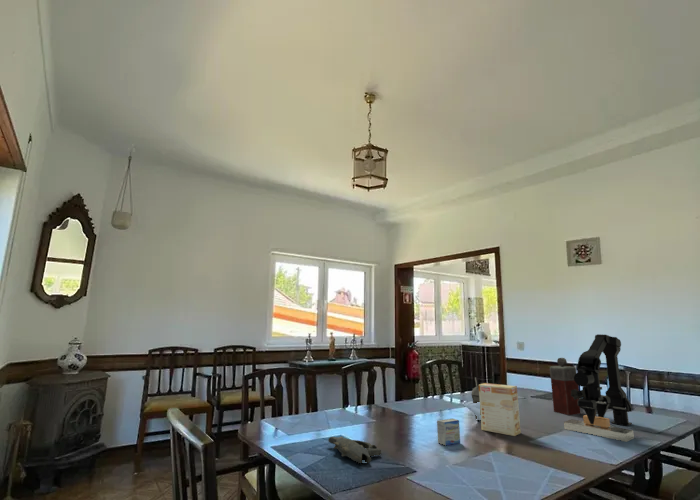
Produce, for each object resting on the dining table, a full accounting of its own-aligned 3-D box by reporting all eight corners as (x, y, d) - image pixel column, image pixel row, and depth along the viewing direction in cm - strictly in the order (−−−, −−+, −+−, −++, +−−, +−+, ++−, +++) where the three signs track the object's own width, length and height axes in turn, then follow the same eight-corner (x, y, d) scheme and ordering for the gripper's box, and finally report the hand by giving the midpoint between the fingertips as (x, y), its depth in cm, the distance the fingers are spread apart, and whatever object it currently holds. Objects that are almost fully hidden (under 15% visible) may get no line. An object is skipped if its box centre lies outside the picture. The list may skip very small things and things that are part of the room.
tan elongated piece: (354, 451, 129) (392, 450, 135) (325, 431, 151) (359, 431, 157) (352, 468, 128) (391, 466, 134) (323, 445, 150) (358, 445, 156)
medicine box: (445, 446, 150) (444, 422, 152) (437, 443, 154) (436, 420, 156) (460, 443, 154) (459, 420, 156) (452, 440, 158) (451, 417, 159)
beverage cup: (489, 421, 186) (486, 378, 190) (473, 421, 188) (470, 378, 191) (487, 418, 193) (484, 376, 197) (472, 417, 195) (469, 376, 199)
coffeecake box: (521, 433, 167) (517, 385, 171) (515, 436, 162) (511, 387, 166) (487, 427, 178) (484, 382, 181) (480, 430, 172) (477, 384, 176)
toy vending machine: (584, 413, 203) (577, 357, 208) (568, 415, 199) (562, 358, 204) (568, 409, 211) (563, 356, 216) (553, 411, 207) (548, 357, 212)
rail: (572, 426, 178) (572, 419, 179) (634, 438, 159) (633, 430, 160) (564, 429, 173) (563, 421, 174) (626, 441, 155) (625, 433, 155)
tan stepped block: (588, 430, 171) (586, 414, 172) (611, 434, 164) (609, 418, 165) (584, 431, 169) (583, 415, 170) (607, 436, 162) (605, 419, 163)
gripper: (582, 380, 182) (586, 415, 179) (563, 384, 171) (566, 421, 168) (608, 383, 173) (613, 420, 170) (590, 387, 162) (595, 427, 159)
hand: (596, 422), depth 167 cm, fingers open, 9 cm apart
